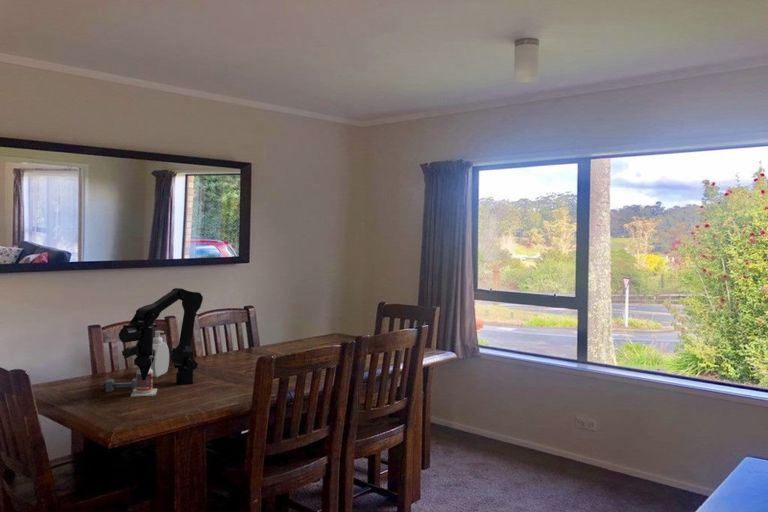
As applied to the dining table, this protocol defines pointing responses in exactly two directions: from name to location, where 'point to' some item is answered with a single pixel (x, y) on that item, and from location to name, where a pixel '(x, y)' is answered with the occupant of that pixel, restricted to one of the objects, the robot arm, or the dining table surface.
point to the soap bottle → (160, 355)
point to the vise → (117, 385)
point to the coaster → (144, 393)
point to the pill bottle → (144, 382)
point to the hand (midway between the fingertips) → (144, 377)
